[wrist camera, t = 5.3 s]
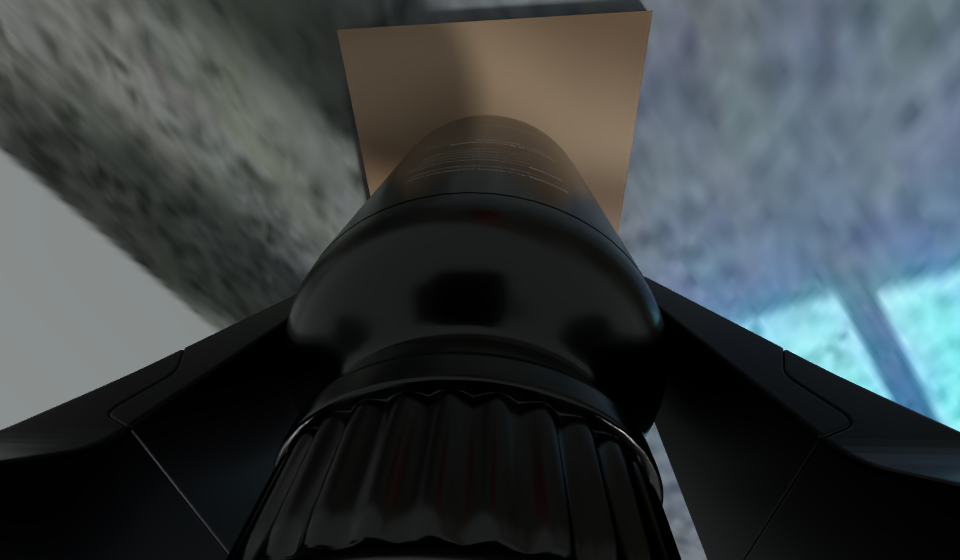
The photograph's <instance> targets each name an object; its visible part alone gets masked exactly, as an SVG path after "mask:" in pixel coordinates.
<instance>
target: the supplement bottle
mask: <svg viewBox="0 0 960 560" xmlns="http://www.w3.org/2000/svg"><path fill="white" fill-rule="evenodd" d="M285 365H286V374H287V379H288V383H289V388H290V391H291V394H292V397H293V400H294V403H295V405H296V408H297V410H298V412H299V414H298V416H297V417H296V419H295V420H294V422H293V424H292V426H291V428H290V429H289V431H288V433H287V435H286V437H285V438H284V440H283V442H282V444H281V446H280V448H279V450H278V453H277V455H276V458H275V461H274V466H273V472H272V474H271V476H270V478H269V480H268V481H267V483H266V485H265V487H264V489H263V491H262V493H261V495H260V496H259V498H258V500H257V502H256V504H255V506H254V508H253V510H252V511H251V513H250V515H249V517H248V519H247V521H246V523H245V525H244V526H243V528H242V530H241V532H240V534H239V536H238V538H237V540H236V542H235V543H234V545H233V547H232V549H231V551H230V553H229V555H228V557H227V559H226V560H681V557H680V554H679V552H678V549H677V546H676V543H675V540H674V537H673V535H672V532H671V529H670V526H669V523H668V520H667V518H666V515H665V512H664V509H663V507H662V505H663V485H662V480H661V477H660V473H659V470H658V467H657V465H656V463H655V460H654V458H653V455H652V453H651V451H650V448H649V446H648V443H647V441H646V439H645V437H646V435H647V434H648V432H649V430H650V429H651V427H652V425H653V423H654V421H655V419H656V417H657V414H658V412H659V409H660V407H661V404H662V401H663V397H664V393H665V389H666V385H667V378H668V369H669V344H668V339H667V333H666V327H665V323H664V320H663V317H662V314H661V311H660V309H659V307H658V304H657V302H656V300H655V298H654V296H653V294H652V292H651V290H650V288H649V286H648V284H647V282H646V280H645V278H644V276H643V275H642V273H641V271H640V270H639V268H638V266H637V265H636V263H635V262H634V260H633V258H632V257H631V255H630V254H629V252H628V250H627V249H626V247H625V246H624V244H623V242H622V241H621V239H620V237H619V236H618V234H617V233H616V231H615V229H614V228H613V226H612V225H611V223H610V221H609V220H608V218H607V217H606V215H605V213H604V212H603V210H602V209H601V207H600V205H599V204H598V202H597V201H596V199H595V197H594V196H593V194H592V192H591V191H590V189H589V188H588V186H587V184H586V183H585V181H584V180H583V178H582V176H581V175H580V173H579V172H578V170H577V169H576V167H575V165H574V164H573V162H572V161H571V160H570V158H569V157H568V155H567V154H566V153H565V152H564V151H563V149H562V148H561V147H560V146H559V145H558V144H557V143H556V142H555V141H554V140H553V139H551V138H550V137H549V136H548V135H546V134H545V133H544V132H542V131H540V130H539V129H537V128H536V127H534V126H532V125H530V124H528V123H525V122H523V121H520V120H517V119H513V118H509V117H505V116H497V115H477V116H470V117H465V118H461V119H458V120H454V121H452V122H449V123H447V124H445V125H443V126H441V127H439V128H437V129H435V130H434V131H432V132H431V133H429V134H428V135H426V136H425V137H424V138H423V139H422V140H420V141H419V142H418V143H417V144H416V145H415V146H414V147H413V148H412V149H411V150H410V151H409V153H408V154H407V155H406V156H405V157H404V158H403V159H402V160H401V162H400V163H399V164H398V165H397V166H396V167H395V169H394V170H393V171H392V172H391V173H390V174H389V176H388V177H387V178H386V179H385V180H384V181H383V183H382V184H381V185H380V186H379V187H378V188H377V190H376V191H375V192H374V193H373V194H372V196H371V197H370V198H369V199H368V200H367V201H366V203H365V204H364V205H363V206H362V207H361V208H360V210H359V211H358V212H357V213H356V214H355V215H354V217H353V218H352V219H351V220H350V221H349V222H348V224H347V225H346V226H345V227H344V228H343V229H342V231H341V232H340V233H339V234H338V235H337V236H336V238H335V239H334V240H333V241H332V242H331V244H330V245H329V246H328V247H327V248H326V250H325V251H324V252H323V253H322V254H321V256H320V257H319V259H318V260H317V262H316V263H315V264H314V266H313V267H312V269H311V270H310V272H309V273H308V274H307V276H306V277H305V279H304V280H303V282H302V284H301V286H300V288H299V290H298V292H297V294H296V296H295V298H294V301H293V304H292V307H291V310H290V313H289V317H288V321H287V326H286V333H285Z"/></svg>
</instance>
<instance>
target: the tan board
mask: <svg viewBox="0 0 960 560" xmlns="http://www.w3.org/2000/svg"><path fill="white" fill-rule="evenodd" d="M652 11H653V10H652ZM652 11H636V12H619V13H602V14H586V15H569V16H553V17H536V18H520V19H503V20H486V21H470V22H453V23H437V24H420V25H403V26H387V27H370V28H354V29H337V33H338V38H339V43H340V48H341V53H342V58H343V63H344V68H345V73H346V78H347V83H348V88H349V93H350V98H351V103H352V108H353V113H354V118H355V123H356V128H357V132H358V137H359V142H360V147H361V152H362V157H363V162H364V167H365V172H366V177H367V182H368V187H369V192H370V197H371V196H372V194H373V193H374V192H375V191H376V190H377V188H378V187H379V186H380V185H381V184H382V183H383V181H384V180H385V179H386V178H387V177H388V176H389V174H390V173H391V172H392V171H393V170H394V169H395V167H396V166H397V165H398V164H399V163H400V162H401V160H402V159H403V158H404V157H405V156H406V155H407V154H408V153H409V151H410V150H411V149H412V148H413V147H414V146H415V145H416V144H417V143H418V142H419V141H420V140H422V139H423V138H424V137H425V136H426V135H428V134H429V133H431V132H432V131H434V130H435V129H437V128H439V127H441V126H443V125H445V124H447V123H449V122H452V121H454V120H458V119H461V118H465V117H470V116H477V115H497V116H505V117H509V118H513V119H517V120H520V121H523V122H525V123H528V124H530V125H532V126H534V127H536V128H537V129H539V130H540V131H542V132H544V133H545V134H546V135H548V136H549V137H550V138H551V139H553V140H554V141H555V142H556V143H557V144H558V145H559V146H560V147H561V148H562V149H563V151H564V152H565V153H566V154H567V155H568V157H569V158H570V160H571V161H572V162H573V164H574V165H575V167H576V169H577V170H578V172H579V173H580V175H581V176H582V178H583V180H584V181H585V183H586V184H587V186H588V188H589V189H590V191H591V192H592V194H593V196H594V197H595V199H596V201H597V202H598V204H599V205H600V207H601V209H602V210H603V212H604V213H605V215H606V217H607V218H608V220H609V221H610V223H611V225H612V226H613V228H614V229H615V231H616V233H617V234H618V231H619V225H620V218H621V212H622V205H623V199H624V192H625V186H626V179H627V173H628V167H629V160H630V154H631V147H632V141H633V134H634V128H635V121H636V115H637V108H638V102H639V95H640V89H641V82H642V76H643V69H644V63H645V56H646V50H647V43H648V37H649V31H650V24H651V18H652Z"/></svg>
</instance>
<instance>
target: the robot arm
mask: <svg viewBox="0 0 960 560" xmlns="http://www.w3.org/2000/svg"><path fill="white" fill-rule="evenodd" d="M644 278H645V280H646V282H647V284H648V286H649V288H650V290H651V292H652V294H653V296H654V298H655V300H656V302H657V304H658V307H659V309H660V311H661V314H662V317H663V320H664V323H665V327H666V333H667V339H668V344H669V369H668V378H667V385H666V389H665V393H664V397H663V401H662V404H661V407H660V409H659V412H658V414H657V417H656V419H655V421H654V422H655V425H656V427H657V430H658V432H659V435H660V438H661V440H662V443H663V445H664V448H665V451H666V453H667V456H668V458H669V461H670V464H671V466H672V469H673V471H674V474H675V477H676V479H677V482H678V484H679V487H680V490H681V492H682V495H683V497H684V500H685V503H686V505H687V508H688V510H689V513H690V515H691V518H692V521H693V523H694V526H695V528H696V531H697V534H698V536H699V539H700V541H701V544H702V547H703V549H704V552H705V554H706V557H707V560H960V432H959V431H957V430H955V429H953V428H950V427H948V426H946V425H944V424H942V423H939V422H937V421H935V420H933V419H931V418H928V417H926V416H924V415H922V414H920V413H917V412H915V411H913V410H911V409H909V408H906V407H904V406H902V405H900V404H898V403H895V402H893V401H891V400H889V399H887V398H884V397H882V396H880V395H878V394H876V393H874V392H871V391H869V390H867V389H865V388H863V387H861V386H859V385H856V384H854V383H852V382H850V381H848V380H846V379H844V378H841V377H839V376H837V375H835V374H833V373H831V372H829V371H827V370H825V369H823V368H821V367H819V366H817V365H815V364H813V363H811V362H809V361H807V360H805V359H803V358H801V357H799V356H798V355H796V354H794V353H792V352H790V351H788V350H784V351H783V348H782V347H780V346H778V345H776V344H774V343H772V342H770V341H768V340H766V339H765V338H763V337H761V336H759V335H757V334H755V333H753V332H751V331H749V330H747V329H745V328H743V327H741V326H739V325H737V324H735V323H734V322H732V321H730V320H728V319H726V318H724V317H722V316H720V315H718V314H716V313H714V312H712V311H710V310H708V309H706V308H705V307H703V306H701V305H699V304H697V303H695V302H693V301H691V300H689V299H687V298H685V297H683V296H681V295H679V294H677V293H676V292H674V291H672V290H670V289H668V288H666V287H664V286H662V285H660V284H658V283H656V282H654V281H652V280H650V279H648V278H646V277H644ZM295 296H296V295H293V296H291V297H289V298H287V299H285V300H283V301H281V302H279V303H277V304H275V305H273V306H271V307H269V308H267V309H265V310H262V311H260V312H258V313H256V314H254V315H252V316H250V317H248V318H246V319H244V320H242V321H240V322H238V323H236V324H234V325H232V326H229V327H227V328H225V329H223V330H221V331H219V332H217V333H215V334H213V335H211V336H209V337H207V338H205V339H203V340H201V341H199V342H197V343H195V344H192V345H190V346H188V347H186V348H185V349H184V351H183V350H180V351H178V352H176V353H174V354H172V355H169V356H167V357H165V358H163V359H161V360H159V361H157V362H155V363H153V364H151V365H149V366H146V367H144V368H142V369H140V370H138V371H136V372H134V373H131V374H129V375H127V376H125V377H122V378H120V379H118V380H116V381H113V382H111V383H109V384H107V385H105V386H102V387H100V388H98V389H95V390H93V391H91V392H89V393H86V394H84V395H82V396H79V397H77V398H75V399H72V400H70V401H68V402H66V403H63V404H61V405H59V406H56V407H54V408H52V409H49V410H47V411H45V412H42V413H40V414H38V415H36V416H33V417H31V418H29V419H26V420H24V421H22V422H19V423H17V424H15V425H12V426H10V427H7V428H5V429H2V430H0V560H226V559H227V557H228V555H229V553H230V551H231V549H232V547H233V545H234V543H235V542H236V540H237V538H238V536H239V534H240V532H241V530H242V528H243V526H244V525H245V523H246V521H247V519H248V517H249V515H250V513H251V511H252V510H253V508H254V506H255V504H256V502H257V500H258V498H259V496H260V495H261V493H262V491H263V489H264V487H265V485H266V483H267V481H268V480H269V478H270V476H271V474H272V472H273V466H274V461H275V458H276V455H277V453H278V450H279V448H280V446H281V444H282V442H283V440H284V438H285V437H286V435H287V433H288V431H289V429H290V428H291V426H292V424H293V422H294V420H295V419H296V417H297V416H298V414H299V412H298V410H297V408H296V405H295V403H294V400H293V397H292V394H291V391H290V388H289V383H288V379H287V374H286V365H285V333H286V326H287V321H288V317H289V313H290V310H291V307H292V304H293V301H294V298H295Z"/></svg>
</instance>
